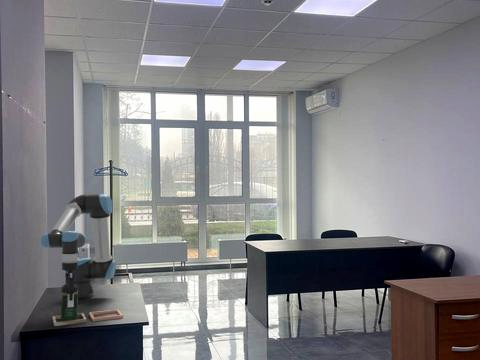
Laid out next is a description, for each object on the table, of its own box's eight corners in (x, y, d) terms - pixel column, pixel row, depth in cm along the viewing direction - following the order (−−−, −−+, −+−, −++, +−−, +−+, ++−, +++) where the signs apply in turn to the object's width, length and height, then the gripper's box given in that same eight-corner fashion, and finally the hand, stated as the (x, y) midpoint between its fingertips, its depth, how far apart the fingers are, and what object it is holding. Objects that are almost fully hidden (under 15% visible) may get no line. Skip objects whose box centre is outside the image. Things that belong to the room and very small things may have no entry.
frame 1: (52, 319, 236) (52, 316, 236) (83, 315, 242) (83, 313, 242) (54, 326, 224) (54, 322, 224) (86, 322, 230) (86, 319, 230)
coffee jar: (77, 322, 230) (77, 285, 230) (60, 324, 227) (60, 286, 228) (77, 317, 239) (78, 281, 239) (61, 319, 236) (61, 282, 237)
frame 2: (89, 315, 243) (89, 312, 243) (118, 312, 250) (118, 309, 250) (92, 321, 232) (92, 318, 232) (122, 318, 238) (122, 315, 238)
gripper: (60, 259, 243) (59, 299, 243) (64, 265, 221) (63, 310, 220) (75, 258, 247) (74, 298, 246) (80, 264, 224) (79, 308, 223)
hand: (69, 304), depth 233 cm, fingers open, 13 cm apart
